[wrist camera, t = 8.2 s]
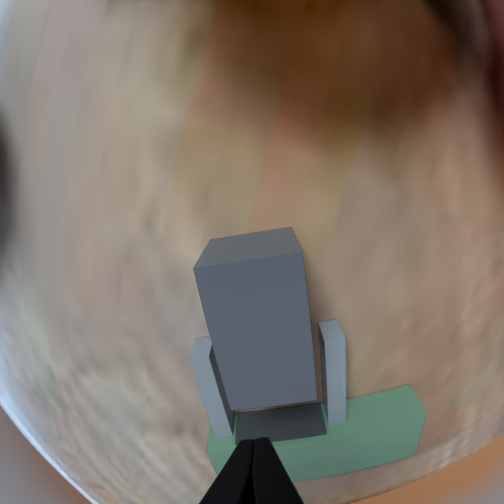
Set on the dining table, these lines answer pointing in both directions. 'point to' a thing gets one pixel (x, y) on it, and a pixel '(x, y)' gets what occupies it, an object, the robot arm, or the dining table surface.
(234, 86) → the dining table surface
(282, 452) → the green and blue-gray block
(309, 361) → the slate gray cuboid
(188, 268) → the dining table surface
